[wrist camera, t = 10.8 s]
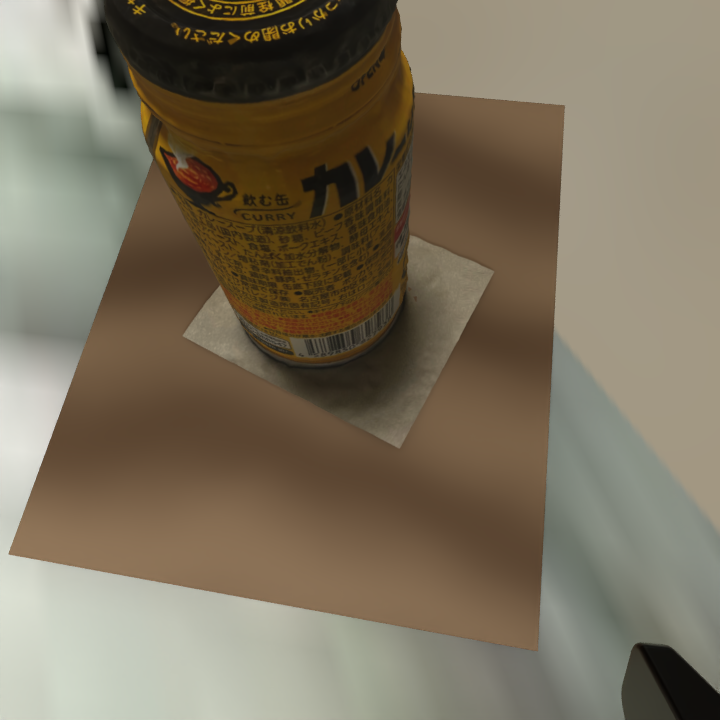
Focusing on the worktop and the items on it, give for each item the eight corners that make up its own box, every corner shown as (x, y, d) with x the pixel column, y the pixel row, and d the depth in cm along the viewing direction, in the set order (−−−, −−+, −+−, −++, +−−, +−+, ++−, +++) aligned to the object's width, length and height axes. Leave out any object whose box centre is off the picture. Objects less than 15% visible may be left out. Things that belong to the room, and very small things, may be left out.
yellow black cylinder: (291, 186, 23) (197, -204, 12) (493, 274, 21) (610, -93, 10) (183, 339, 21) (-59, 35, 9) (399, 451, 19) (411, 236, 8)
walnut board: (526, 647, 18) (537, 651, 16) (35, 557, 19) (8, 554, 18) (555, 132, 25) (564, 105, 24) (195, 99, 27) (184, 72, 25)
